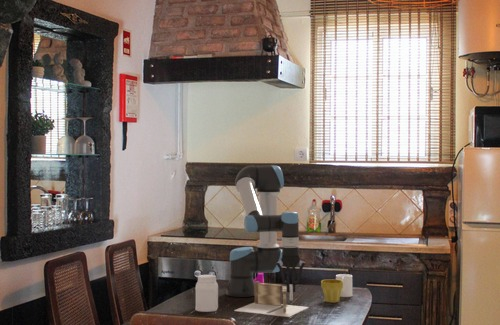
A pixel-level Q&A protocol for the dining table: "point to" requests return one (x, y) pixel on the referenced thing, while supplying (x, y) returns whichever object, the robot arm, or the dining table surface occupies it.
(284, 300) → the wooden board
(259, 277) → the toy block
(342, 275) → the cup
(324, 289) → the plant pot
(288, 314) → the card
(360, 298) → the dining table surface
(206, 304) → the jar
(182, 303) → the dining table surface
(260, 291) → the fixed fence section
